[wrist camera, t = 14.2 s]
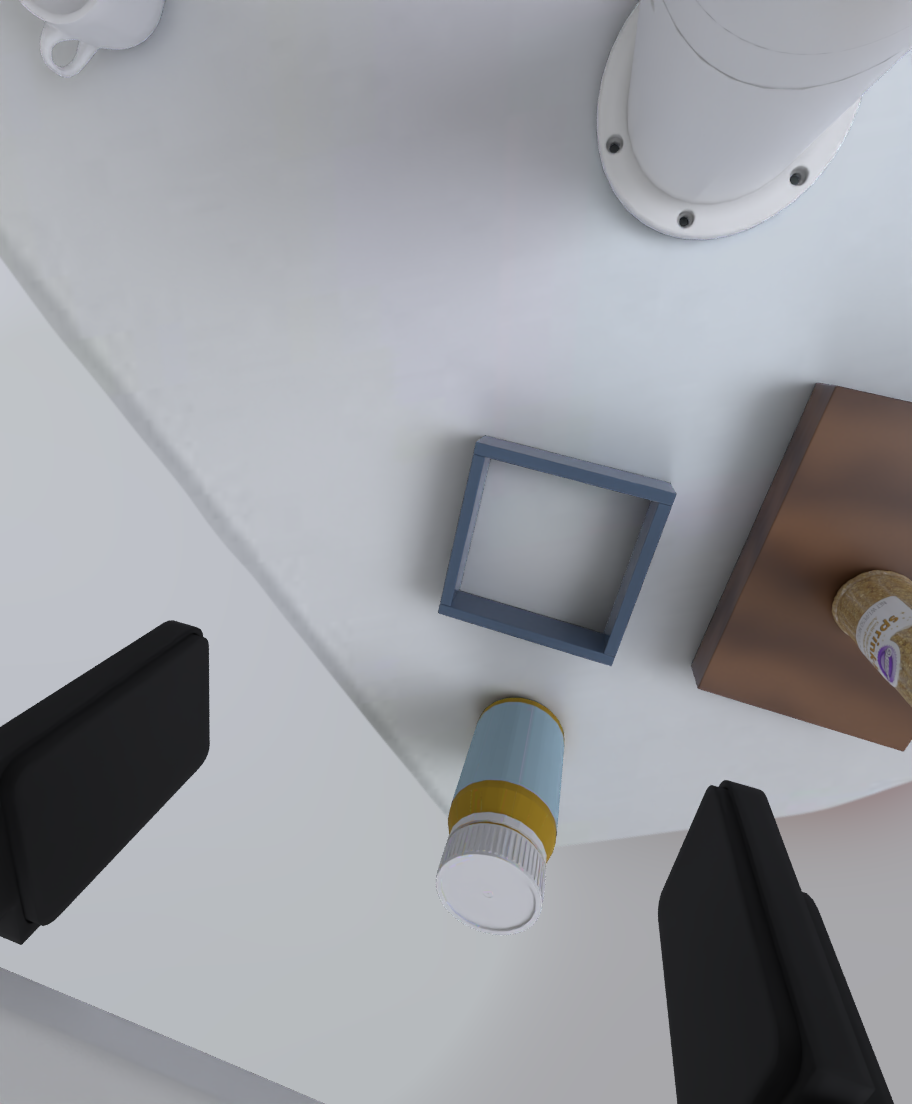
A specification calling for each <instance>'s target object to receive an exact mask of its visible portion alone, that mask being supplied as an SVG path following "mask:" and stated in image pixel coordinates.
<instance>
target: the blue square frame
mask: <svg viewBox="0 0 912 1104" xmlns="http://www.w3.org/2000/svg"><path fill="white" fill-rule="evenodd" d="M491 459H495V460H499V461H503V462H506V463H510V464H514V465H518V466H522V467H525V468H529V469H533V470H537V471H541V472H544V473H548V474H552V475H556V476H560V477H564V478H567V479H571V480H575V481H579V482H583V483H586V484H590V485H594V486H598V487H602V488H606V489H609V490H613V491H617V492H621V493H625V494H628V495H632V496H636V497H640V498H644V499H647V500H651V502H650V505H649V508H648V511H647V513H646V516H645V519H644V522H643V524H642V527H641V530H640V533H639V536H638V538H637V541H636V544H635V547H634V549H633V552H632V555H631V558H630V561H629V563H628V566H627V569H626V572H625V574H624V577H623V580H622V583H621V585H620V588H619V591H618V594H617V597H616V599H615V602H614V605H613V608H612V610H611V613H610V616H609V619H608V622H607V624H606V627H605V630H604V633H600V632H596V631H593V630H590V629H586V628H583V627H580V626H576V625H573V624H570V623H566V622H563V621H560V620H556V619H553V618H550V617H546V616H543V615H540V614H536V613H533V612H530V611H526V610H523V609H520V608H516V607H513V606H510V605H506V604H503V603H500V602H496V601H493V600H490V599H486V598H483V597H480V596H476V595H473V594H470V593H466V592H463V591H459V590H460V587H461V583H462V578H463V574H464V570H465V566H466V562H467V557H468V553H469V549H470V545H471V540H472V536H473V532H474V528H475V524H476V519H477V515H478V511H479V507H480V502H481V498H482V494H483V490H484V485H485V481H486V477H487V473H488V469H489V464H490V460H491ZM675 497H676V492H675V490H674V488H673V487H672V485H671V483H669V482H666V481H662V480H658V479H654V478H650V477H646V476H642V475H638V474H634V473H630V472H627V471H623V470H619V469H615V468H611V467H607V466H603V465H599V464H595V463H591V462H588V461H584V460H580V459H576V458H572V457H568V456H564V455H560V454H556V453H552V452H549V451H545V450H541V449H537V448H533V447H529V446H525V445H521V444H517V443H513V442H510V441H506V440H502V439H498V438H494V437H490V436H486V435H485V436H483V437H482V438H481V439H479V440H478V441H477V442H476V444H475V448H474V455H473V458H472V462H471V467H470V471H469V476H468V480H467V485H466V489H465V494H464V498H463V503H462V507H461V512H460V516H459V521H458V525H457V530H456V534H455V538H454V543H453V547H452V552H451V556H450V561H449V565H448V570H447V574H446V579H445V583H444V588H443V592H442V597H441V601H440V605H439V610H438V613H439V614H443V615H446V616H449V617H452V618H456V619H459V620H462V621H465V622H469V623H472V624H475V625H478V626H482V627H485V628H488V629H491V630H495V631H498V632H501V633H504V634H508V635H511V636H514V637H517V638H521V639H524V640H527V641H531V642H534V643H537V644H540V645H544V646H547V647H550V648H553V649H557V650H560V651H563V652H566V653H570V654H573V655H576V656H579V657H583V658H586V659H589V660H592V661H596V662H599V663H602V664H605V665H609V666H612V664H613V661H614V658H615V656H616V653H617V651H618V648H619V645H620V643H621V640H622V637H623V635H624V632H625V629H626V627H627V624H628V621H629V619H630V616H631V613H632V611H633V608H634V605H635V603H636V600H637V598H638V595H639V592H640V590H641V587H642V584H643V582H644V579H645V576H646V574H647V571H648V568H649V566H650V563H651V560H652V558H653V555H654V552H655V550H656V547H657V545H658V542H659V539H660V537H661V534H662V531H663V529H664V526H665V523H666V521H667V518H668V515H669V513H670V510H671V507H672V505H673V502H674V500H675Z"/></svg>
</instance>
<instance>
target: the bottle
mask: <svg viewBox="0 0 912 1104" xmlns="http://www.w3.org/2000/svg"><path fill="white" fill-rule="evenodd" d="M563 754H564V733H563V729H562V726H561V725H560V723H559V721H558V719H557V718H556V716H555V715H554V714H553V713H552V712H551V711H550V710H549V709H547V708H546V707H544V706H542V705H541V704H539V703H537V702H535V701H532V700H528V699H524V698H505V699H502V700H499V701H496V702H494V703H492V704H491V705H490V706H488V707H487V708H486V709H485V710H484V711H483V713H482V714H481V716H480V718H479V721H478V723H477V726H476V729H475V732H474V735H473V738H472V742H471V745H470V748H469V751H468V754H467V757H466V760H465V763H464V766H463V770H462V773H461V776H460V779H459V782H458V785H457V788H456V791H455V794H454V797H453V801H452V804H451V808H450V812H449V817H448V826H449V837H448V840H447V843H446V846H445V849H444V852H443V855H442V858H441V862H440V865H439V868H438V872H437V876H436V877H437V879H436V888H437V893H438V896H439V898H440V900H441V902H442V904H443V905H444V907H445V908H446V909H447V910H448V911H449V913H450V914H451V915H452V916H454V917H455V918H456V919H457V920H459V921H460V922H461V923H463V924H465V925H467V926H468V927H470V928H473V929H475V930H478V931H480V932H484V933H488V934H493V935H511V934H516V933H520V932H522V931H524V930H526V929H528V928H530V927H531V926H532V925H533V924H534V923H535V922H536V921H537V919H538V917H539V915H540V913H541V909H542V906H543V898H544V888H545V877H546V876H545V874H546V872H545V871H546V863H547V861H548V860H549V858H550V856H551V854H552V853H553V850H554V846H555V843H556V836H557V824H558V813H559V801H560V789H561V777H562V766H563Z"/></svg>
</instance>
